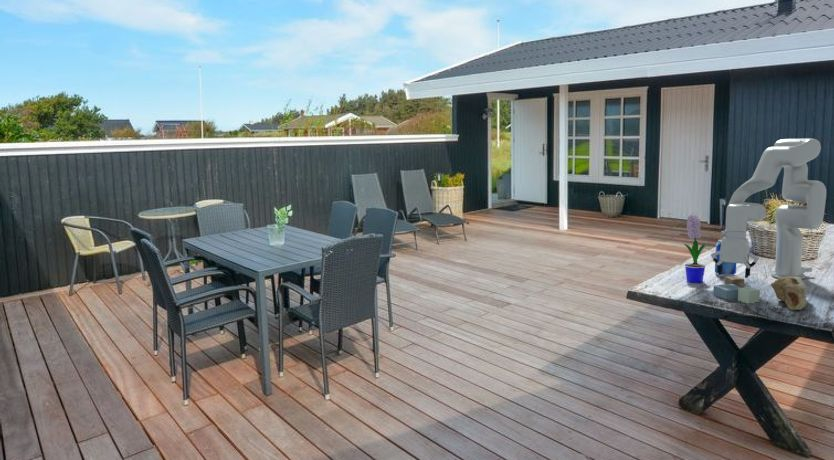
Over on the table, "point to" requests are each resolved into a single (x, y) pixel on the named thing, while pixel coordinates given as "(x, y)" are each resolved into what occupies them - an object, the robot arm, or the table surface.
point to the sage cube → (748, 295)
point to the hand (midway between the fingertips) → (733, 275)
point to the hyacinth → (694, 251)
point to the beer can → (724, 264)
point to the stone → (791, 292)
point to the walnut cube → (735, 281)
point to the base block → (726, 291)
